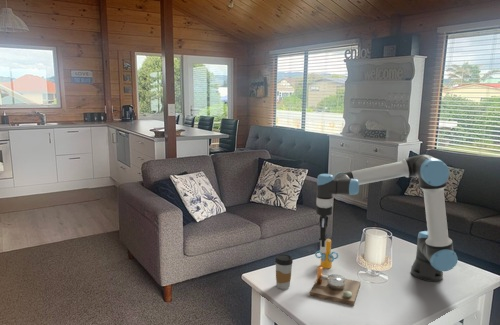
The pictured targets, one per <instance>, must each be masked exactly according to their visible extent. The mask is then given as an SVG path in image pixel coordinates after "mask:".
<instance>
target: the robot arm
mask: <svg viewBox="0 0 500 325" xmlns="http://www.w3.org/2000/svg"><path fill="white" fill-rule="evenodd" d="M401 177H405V178H412V177H415V178H418V185H419V189H420V190H422V191H423V200H424V208H425V219H426V227H427V229H426V230H424V231H423V230H422V231H419V232H418V235H417V245H416V256H415V259H414V261H413V264H412V265H411V268H410V273H411V275H413V276H414V277H416V279H417V278H418V279H420V280H423V281H427V282H439V281H441V280H443V278H444V277H443V276H444V273H443V272H447V271H452V269H454V268H455V267H456V266H457V264H458V260H459V259H458V256H457V253H456V252H455V251H454V244H453V240H452V239H451V238H450V237H449V231H448V222H447V220H448V219H447V212H446V211H447V210H446V202H445V201H446V200H445V191H444V190H445V189H446V188H447V186H448V184H447V183H448V182H447V181H448V180H449V177H450V170H449V167H448V165H447V164H446V163H445V162H444V161H443V160H442V159H440V158H436V157H434V156H432V155H430V154H418V155H415V156H410V157H405V158H402V159H401V161H396V162H391V163H387V164H381V165H376V166H372V167H366V168H362V169H357V170H352V171H347V172H344V171H339V172H337V173H336V174H335V175H333V174H331V173H320V174H318V175H317V179H316V202H315V203H316V211H315V212H316V213H315V214H317V215H318V216H319V228H320V229H319V230H320V231H319V232H320V233H319V234H320V238H319V239H318V240H319V241H320V242H319V244H320V247H319V248H320V249H319V251H320V252H322V253H326V239H329V237H328V236H327V235H328V234H327V232H328V225H329V223H328V222H329V216H331V215H332V214H333V202H335V201H334V199H333V195H345V196H346V195H347V196H354V195H359V194H358V193H359V191H360V185H361V186H362V185H365V184H371V183H376V182H380V181H381V182H382V181H387V180H391V179H396V178H401ZM320 252H319V253H320Z"/></svg>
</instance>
